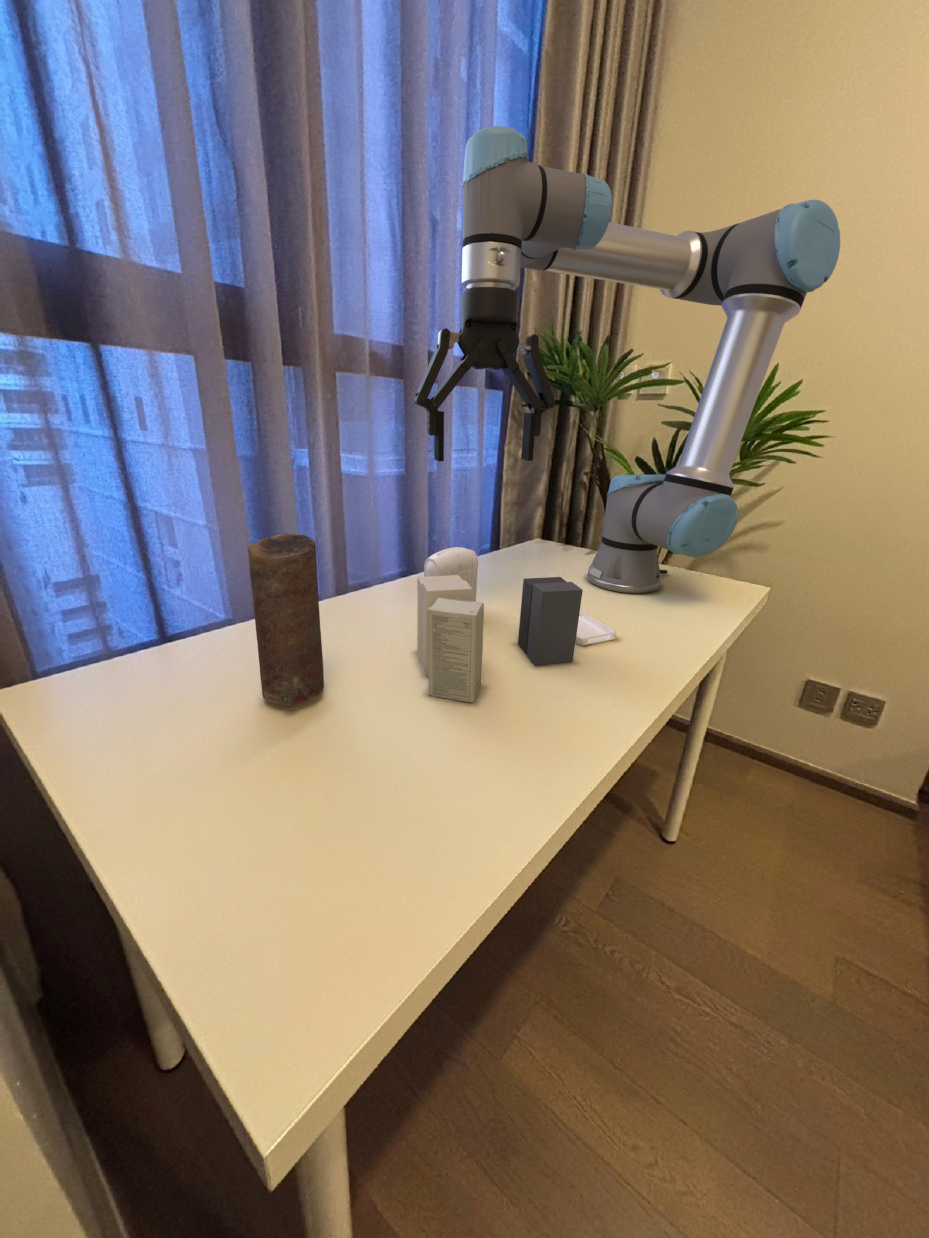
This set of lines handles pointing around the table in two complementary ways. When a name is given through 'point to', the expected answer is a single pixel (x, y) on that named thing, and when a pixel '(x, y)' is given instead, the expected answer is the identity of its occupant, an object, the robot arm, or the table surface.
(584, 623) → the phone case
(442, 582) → the white rectangular block
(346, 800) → the table surface
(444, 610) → the cosmetic box
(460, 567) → the photo printer
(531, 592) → the dark grey upright block
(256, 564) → the candle
